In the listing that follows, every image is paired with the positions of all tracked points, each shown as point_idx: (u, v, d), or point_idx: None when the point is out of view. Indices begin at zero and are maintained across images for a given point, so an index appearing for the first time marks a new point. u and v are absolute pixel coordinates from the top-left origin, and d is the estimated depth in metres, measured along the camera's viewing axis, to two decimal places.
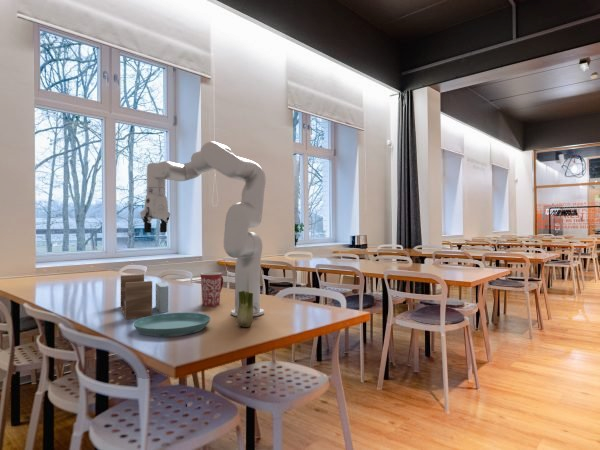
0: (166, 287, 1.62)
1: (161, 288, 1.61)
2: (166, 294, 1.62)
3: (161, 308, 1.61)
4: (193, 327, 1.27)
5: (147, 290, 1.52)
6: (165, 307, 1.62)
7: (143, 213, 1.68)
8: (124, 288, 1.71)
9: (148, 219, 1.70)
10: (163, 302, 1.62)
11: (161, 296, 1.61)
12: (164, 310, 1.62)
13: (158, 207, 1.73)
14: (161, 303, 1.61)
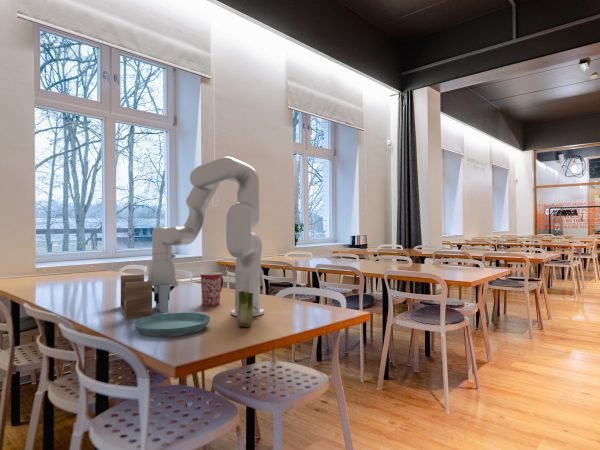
0: (166, 287, 1.62)
1: (161, 288, 1.61)
2: (166, 294, 1.62)
3: (161, 308, 1.61)
4: (193, 327, 1.27)
5: (147, 290, 1.52)
6: (165, 307, 1.62)
7: None
8: (124, 288, 1.71)
9: None
10: (163, 302, 1.62)
11: (161, 296, 1.61)
12: (164, 310, 1.62)
13: None
14: (161, 303, 1.61)
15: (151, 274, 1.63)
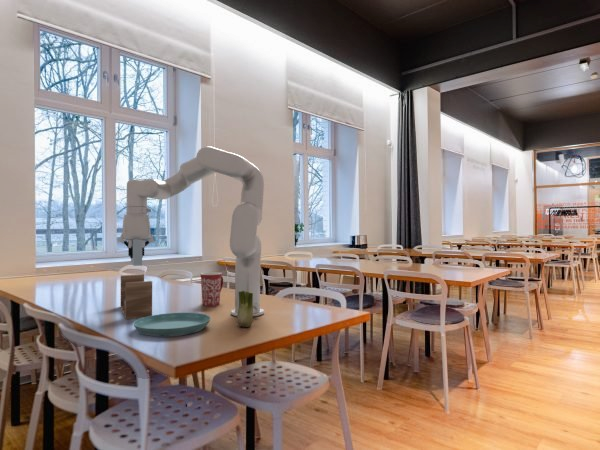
0: (140, 240, 1.58)
1: (135, 241, 1.57)
2: (140, 247, 1.58)
3: (135, 261, 1.57)
4: (193, 327, 1.27)
5: (147, 290, 1.52)
6: (139, 261, 1.58)
7: None
8: (124, 288, 1.71)
9: None
10: (137, 255, 1.57)
11: (135, 249, 1.57)
12: (138, 264, 1.57)
13: None
14: (135, 256, 1.57)
15: (125, 227, 1.59)
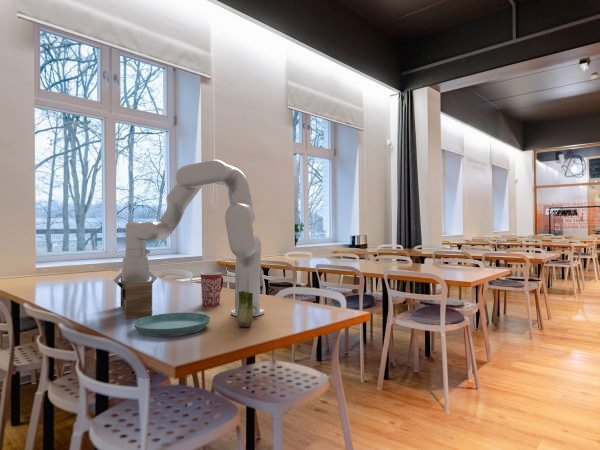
0: None
1: None
2: None
3: None
4: (193, 327, 1.27)
5: (147, 290, 1.52)
6: None
7: None
8: None
9: None
10: None
11: None
12: None
13: None
14: None
15: (124, 270, 1.59)
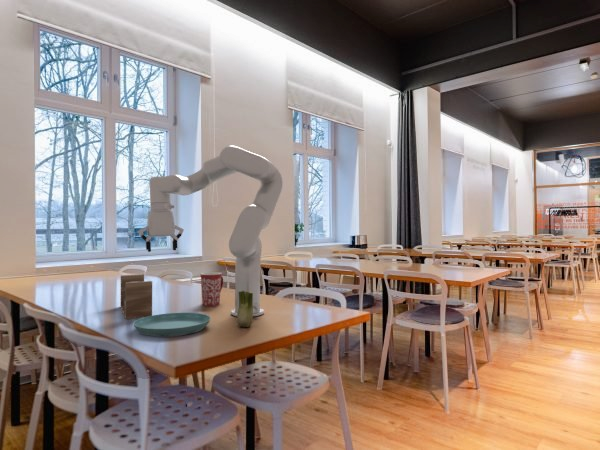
0: None
1: None
2: None
3: None
4: (193, 327, 1.27)
5: (147, 290, 1.52)
6: None
7: None
8: (124, 288, 1.71)
9: None
10: None
11: None
12: None
13: None
14: None
15: (150, 224, 1.60)
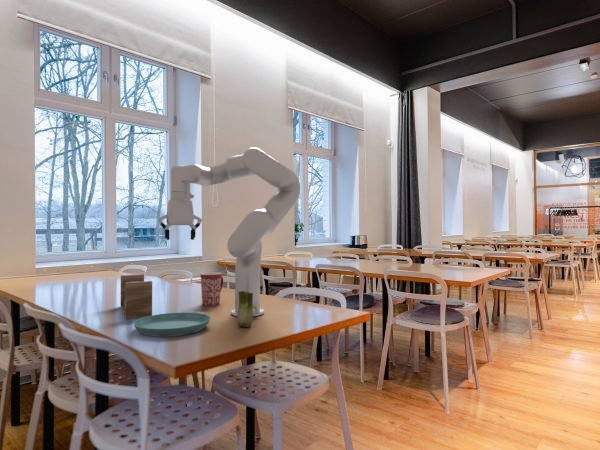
0: None
1: None
2: None
3: None
4: (193, 327, 1.27)
5: (147, 290, 1.52)
6: None
7: None
8: (124, 288, 1.71)
9: None
10: None
11: None
12: None
13: None
14: None
15: (170, 212, 1.61)
